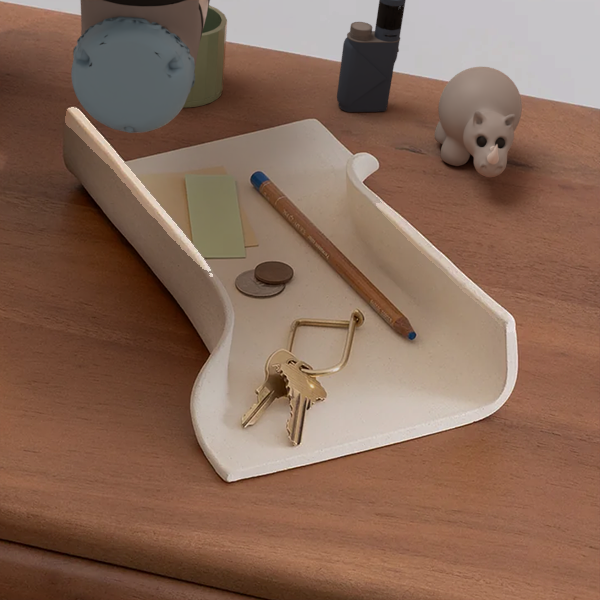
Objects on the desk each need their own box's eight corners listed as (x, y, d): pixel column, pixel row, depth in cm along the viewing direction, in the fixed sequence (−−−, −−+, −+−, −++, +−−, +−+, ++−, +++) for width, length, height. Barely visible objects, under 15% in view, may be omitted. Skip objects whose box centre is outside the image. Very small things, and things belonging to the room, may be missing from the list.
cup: (113, 83, 101) (112, 13, 97) (178, 59, 107) (180, -8, 103) (176, 116, 97) (178, 44, 93) (241, 90, 103) (245, 21, 99)
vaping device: (392, 112, 102) (412, -9, 95) (339, 113, 101) (355, -10, 94) (385, 100, 104) (404, -20, 97) (333, 100, 103) (348, -21, 96)
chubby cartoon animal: (438, 203, 90) (456, 111, 84) (426, 134, 99) (442, 49, 94) (522, 210, 90) (546, 120, 85) (502, 141, 100) (523, 56, 94)
